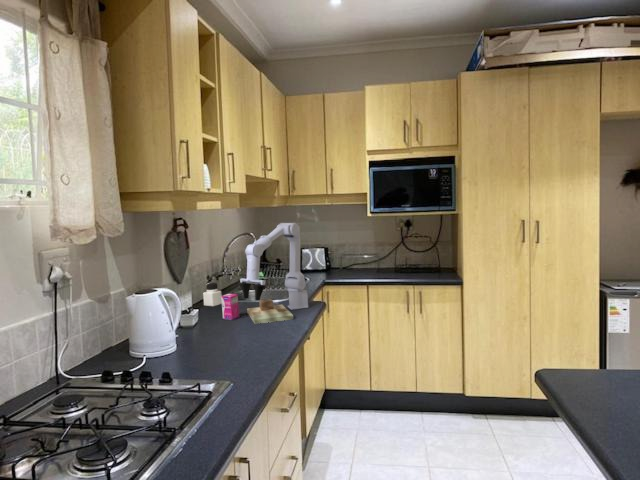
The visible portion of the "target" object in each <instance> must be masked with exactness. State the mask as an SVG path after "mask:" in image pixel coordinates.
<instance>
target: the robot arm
mask: <svg viewBox="0 0 640 480" xmlns="http://www.w3.org/2000/svg"><path fill="white" fill-rule="evenodd" d="M280 236H282V237H284V238H285V239H287V240H288V242H289V272H287V274H286V275H285V280H284V286H285V289H286V290H287V291H288V305H287V307H286V308H287V309H288V310H299V309H301V310H302V309H309V302H308V301H309V297H308V296H309V295H308V291H307V289H305V288H306V286H307V285H306V281H305V275H304V274H303V273H302V272H301V226H300V225H299V224H298V223H297V222H280V223H279V224H277V225H276V228H274V229H273V230H272V231H270V233H268V234H267V235H261V236H259V238H258V239H257V240H254V242H253V243H250V244H248V245H246V248H245V249H244V254H245V255H246V261H247V263H246V265H247V266H246V278H245V277H244V278H243V277H242V278H240V279H239V281H240V283H239V287H240V288H241V291H242V295H243V299H246V300H247V299H248V300H249V296H250V289H251V285H252V284H253V288H254V300H255V301H259V300H261V297H262V294H263V292H264V289H265V288H266V280H264V279H263V280H262V279H260V262H261V261H260V260H261V256H263V253H264V251H265V250H267V249H268V248H270V246H271V245H272V242H274V240H277V238H279V237H280Z"/></svg>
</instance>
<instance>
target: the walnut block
mask: <svg viewBox="0 0 640 480" xmlns="http://www.w3.org/2000/svg"><path fill="white" fill-rule="evenodd" d="M258 301H259V302H258V303H259V307H260V309H261V310H262V311H263V310H271V309H274V305H275V304H274V301H273V299H272V298H268V299H260V300H258Z"/></svg>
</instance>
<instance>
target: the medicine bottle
mask: <svg viewBox="0 0 640 480" xmlns="http://www.w3.org/2000/svg"><path fill="white" fill-rule="evenodd" d="M205 288H206V291H205V292H203V293H202V297H203V306H206V307H207V306H208V307H215V306H219V305H222V300H221V296H223V294H222V290H219V289H218V283H217V282H208V283H206V285H205Z"/></svg>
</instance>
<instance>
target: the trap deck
mask: <svg viewBox="0 0 640 480" xmlns="http://www.w3.org/2000/svg"><path fill="white" fill-rule="evenodd" d="M273 305H274V309H271V310H263V311H262V310H261V309H260V306H258V307H250V308H249V307H248V308H247V309H246V310H247V311H246V312H247V314H248V316H249V317H250V319H251V321H252V322H253V323H254V325H259V324H260V323H261V324H267V323H268V322H269V323H275V322H276V321H277V322H283V321H284V320H285V321H289V320H290V321H292V320H294V315H293V313H292V312H291V311H290V310H289V309H288V308H287V307H285V306H284V304H276V305H275V304H273ZM269 323H268V324H269ZM261 324H260V325H261Z"/></svg>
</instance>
